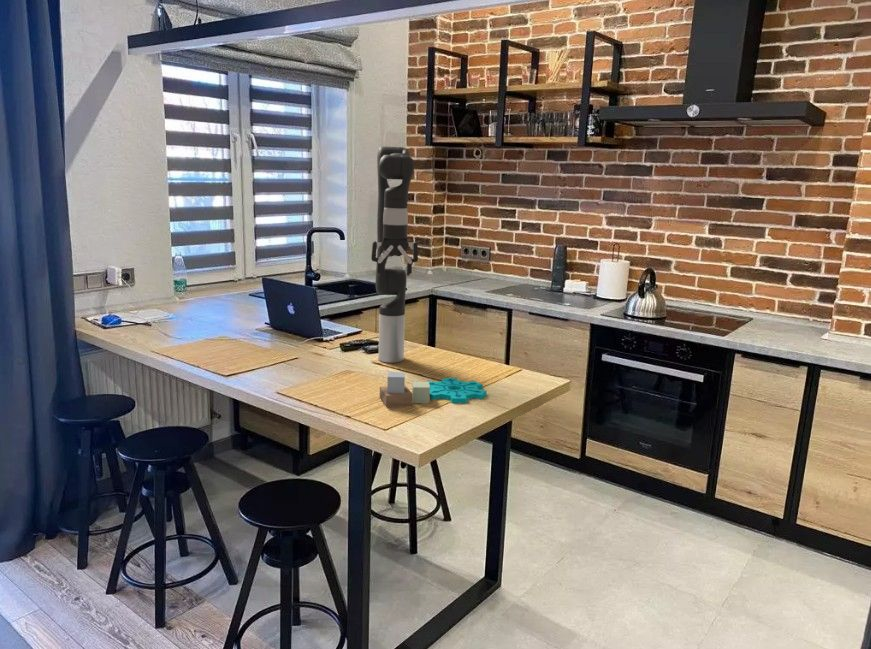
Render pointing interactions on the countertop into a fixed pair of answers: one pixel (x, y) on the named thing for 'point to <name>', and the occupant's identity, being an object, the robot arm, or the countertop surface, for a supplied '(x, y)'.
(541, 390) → the countertop surface
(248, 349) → the countertop surface
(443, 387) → the decorative ornament
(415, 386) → the sage block
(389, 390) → the slate cube
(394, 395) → the walnut base
